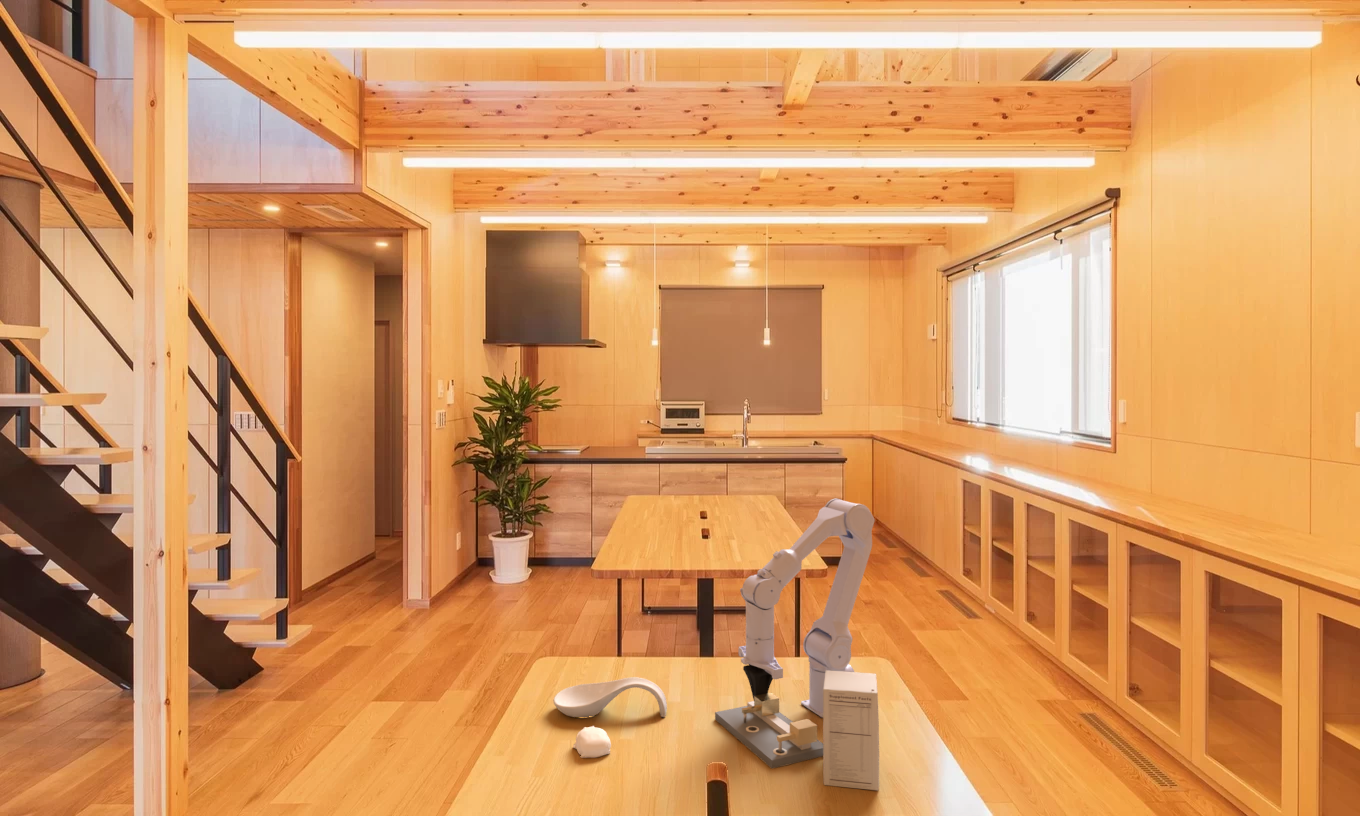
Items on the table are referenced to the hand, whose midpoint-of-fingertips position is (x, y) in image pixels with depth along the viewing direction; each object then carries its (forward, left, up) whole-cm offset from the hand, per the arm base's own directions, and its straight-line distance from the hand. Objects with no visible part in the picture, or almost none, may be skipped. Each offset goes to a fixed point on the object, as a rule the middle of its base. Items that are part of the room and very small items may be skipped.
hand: (759, 701), depth 155 cm
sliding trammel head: (+2, +3, -2) cm, 4 cm away
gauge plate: (+2, +7, -4) cm, 8 cm away
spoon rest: (+26, -17, -4) cm, 32 cm away
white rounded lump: (+35, -3, -4) cm, 35 cm away
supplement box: (-3, +25, -4) cm, 26 cm away
